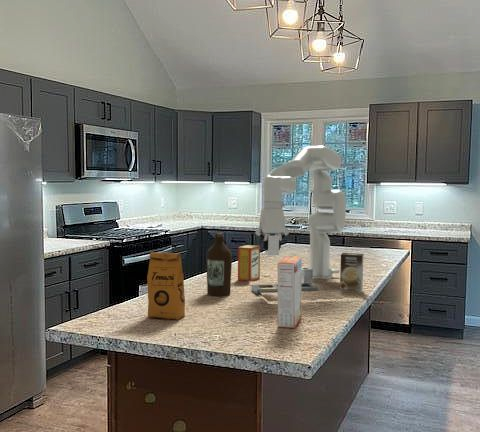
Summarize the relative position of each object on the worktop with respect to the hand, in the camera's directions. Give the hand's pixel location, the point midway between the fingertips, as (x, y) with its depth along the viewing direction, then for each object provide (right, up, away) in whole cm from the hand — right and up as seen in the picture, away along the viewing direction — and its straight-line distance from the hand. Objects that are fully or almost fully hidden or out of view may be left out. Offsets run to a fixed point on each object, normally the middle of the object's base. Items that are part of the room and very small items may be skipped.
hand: (271, 249), depth 220 cm
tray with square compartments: (+5, -18, +2) cm, 19 cm away
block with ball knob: (+16, -17, +14) cm, 27 cm away
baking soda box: (-9, -16, +30) cm, 35 cm away
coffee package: (-38, -20, -41) cm, 59 cm away
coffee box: (+34, -18, +4) cm, 38 cm away
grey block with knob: (0, -2, 0) cm, 2 cm away
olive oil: (-22, -18, -3) cm, 29 cm away
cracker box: (+3, -21, -47) cm, 51 cm away
